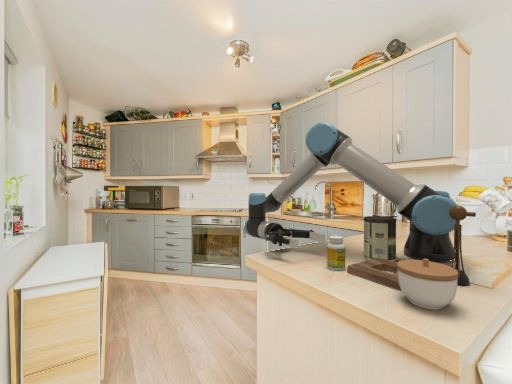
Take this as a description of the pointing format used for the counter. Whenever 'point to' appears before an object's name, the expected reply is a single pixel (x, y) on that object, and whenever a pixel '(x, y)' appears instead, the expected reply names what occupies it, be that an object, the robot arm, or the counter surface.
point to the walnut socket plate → (377, 271)
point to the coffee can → (380, 238)
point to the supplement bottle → (336, 253)
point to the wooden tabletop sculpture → (459, 241)
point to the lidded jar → (427, 283)
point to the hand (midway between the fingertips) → (311, 240)
